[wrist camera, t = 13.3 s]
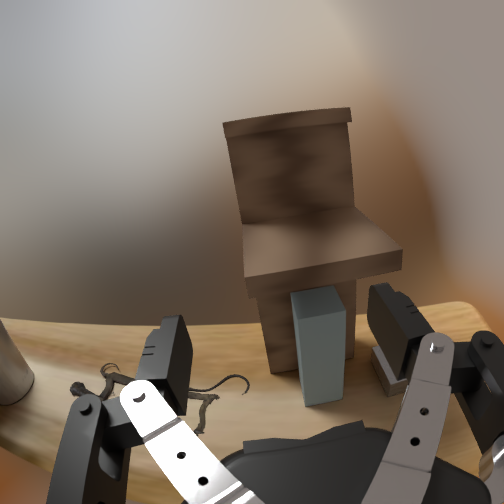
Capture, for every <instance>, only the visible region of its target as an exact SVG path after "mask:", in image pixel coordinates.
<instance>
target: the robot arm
mask: <svg viewBox="0 0 504 504" xmlns="http://www.w3.org/2000/svg"><path fill="white" fill-rule="evenodd" d="M367 320H368V324H369V327H370V329H371V331H372V333H373V335H374V337H375V339H376V340H377V342H378V344H379V346H380V348H381V350H382V352H383V354H384V356H385V358H386V360H387V362H388V364H389V366H390V368H391V370H392V372H393V374H394V376H395V378H396V380H397V381H399V380H402V379H407V381H408V385H407V388H406V391H405V394H404V397H403V400H402V403H401V406H400V409H399V412H398V415H397V417H396V420H395V423H394V425H393V428H392V430H391V432H390V431H387V430H383V429H378V428H365V427H364V424H363V421H362V420H361V421H357V422H353V423H349V424H345V425H341V426H336V427H333V428H331V429H329V430H326V431H324V432H322V433H320V434H317V435H315V436H313V437H310V438H308V439H304V440H300V439H281V438H268V439H260V440H251V441H243V449H242V450H239V451H236V452H234V453H232V454H230V455H228V456H227V457H225V458H224V459H222V460H221V461H220V462H219V461H218V460H217V459H216V457H215V456H214V455H213V454H212V453H211V452H210V451H209V450H208V449H207V448H206V447H205V446H204V444H203V443H202V442H201V441H200V440H199V439H198V438H197V437H196V435H195V434H194V433H193V432H192V431H191V430H190V429H189V427H188V426H187V425H186V424H185V423H184V421H183V420H182V419H181V418H178V417H177V416H186V410H187V401H188V391H189V382H190V374H191V365H192V357H193V348H192V343H191V339H190V337H189V334H188V331H187V328H186V325H185V322H184V320H183V317H182V315H174V316H165V317H163V320H162V323H161V327H160V329H154V330H153V331H152V332H151V333H150V335H149V336H148V337H147V339H146V343H145V346H144V349H143V353H142V356H141V359H140V363H139V366H138V370H137V373H136V377H135V381H134V382H132V383H130V384H129V385H127V386H126V387H125V388H124V389H123V391H122V392H121V395H120V396H119V397H116V398H113V399H109V400H105V401H101V400H100V399H99V398H98V397H97V396H96V395H93V394H86V395H82V396H80V397H79V398H77V399H76V400H75V401H74V402H73V404H72V406H71V409H70V412H69V415H68V418H67V421H66V425H65V428H64V432H63V435H62V439H61V442H60V446H59V450H58V453H57V457H56V461H55V465H54V469H53V474H52V478H51V482H50V487H49V492H48V497H47V502H46V504H125V502H126V491H127V480H128V471H129V462H130V454H131V447H134V446H138V445H142V444H145V445H146V447H147V448H148V450H149V451H150V453H151V454H152V456H153V457H154V459H155V460H156V461H157V463H158V464H159V466H160V467H161V468H162V470H163V471H164V473H165V474H166V475H167V477H168V478H169V479H170V481H171V482H172V483H173V485H174V486H175V487H176V488H177V490H178V491H179V492H180V494H181V495H182V496H183V497H184V499H185V500H184V501H183V502H182V503H181V504H502V503H503V502H504V345H503V343H502V342H501V341H500V339H499V338H498V337H497V336H496V335H495V334H494V333H492V332H489V331H478V332H476V333H475V334H474V335H473V336H472V339H471V341H470V342H453V341H452V339H451V338H450V337H448V336H447V335H445V334H442V333H435V331H434V330H433V329H432V327H431V326H430V325H429V323H428V322H427V321H426V319H425V318H424V317H423V315H422V314H421V313H420V312H419V310H418V309H417V307H416V306H414V303H413V302H412V301H411V300H410V298H409V297H408V296H406V295H404V294H403V293H401V292H394V290H393V289H392V287H391V286H390V285H389V284H388V283H387V282H386V283H381V284H376V285H371V286H370V289H369V298H368V309H367ZM33 379H34V375H33V372H32V370H31V369H30V367H29V366H28V364H27V363H26V361H25V360H24V358H23V357H22V355H21V353H20V352H19V350H18V349H17V347H16V345H15V344H14V342H13V341H12V339H11V337H10V336H9V334H8V332H7V330H6V329H5V327H4V325H3V323H2V322H1V320H0V404H2V405H9V404H12V403H14V402H16V401H18V400H19V399H21V398H22V397H23V396H24V395H25V394H26V393H27V392H28V390H29V389H30V387H31V385H32V383H33ZM484 381H485V382H486V383H485V382H484ZM486 384H487V385H488V387H489V389H490V390H489V389H488V387H487V385H486ZM490 391H491V392H490ZM450 393H454V394H455V396H456V398H457V400H458V402H459V404H460V406H461V408H462V411H463V413H464V415H465V417H466V419H467V421H468V423H469V425H470V428H471V430H472V432H473V434H474V437H475V439H476V441H477V443H478V446H479V448H480V450H481V453H482V457H481V459H480V462H479V477H480V479H479V478H478V477H476V476H474V475H472V474H470V473H468V472H466V471H464V470H462V469H460V468H458V467H456V466H454V465H452V464H450V463H448V462H446V461H444V460H442V459H440V458H438V457H436V456H435V455H436V452H437V449H438V445H439V441H440V438H441V434H442V430H443V426H444V422H445V418H446V413H447V408H448V404H449V399H450ZM491 393H492V394H491Z"/></svg>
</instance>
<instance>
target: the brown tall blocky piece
mask: <svg viewBox="0 0 504 504" xmlns="http://www.w3.org/2000/svg"><path fill="white" fill-rule="evenodd" d="M347 122H352V118H351V111H350V108H349V107H348V108H331V109H319V110H308V111H298V112H289V113H281V114H273V115H266V116H259V117H253V118H247V119H241V120H235V121H229V122H224V123H223V128H224V134H225V138H226V140H227V146H228V151H229V156H230V162H231V167H232V173H233V178H234V183H235V189H236V194H237V199H238V204H239V210H240V215H241V221H242V230H243V255H244V277H245V282H246V287H247V292H248V297H249V299H250V298H256V300H257V305H258V310H259V315H260V320H261V326H262V331H263V336H264V341H265V346H266V352H267V357H268V362H269V367H270V372H271V374H272V373H278V372H284V371H290V370H296V369H299V366H298V356H297V347H296V338H295V328H294V320H293V311H292V302H291V294H290V293H292V292H298V291H304V290H310V289H315V288H321V287H326V286H331V285H334V287H335V289H336V291H337V293H338V295H339V297H340V299H341V301H342V303H343V305H344V307H345V309H346V338H345V359H349V358H353V357H354V342H355V319H356V279H361V278H365V277H370V276H375V275H380V274H385V273H389V272H394V271H398V270H401V268H402V251H403V249H402V248H401V247H400V246H399V245H398V244H397V243H396V242H394V241H393V240H392V239H391V238H390V237H389V236H388V235H387V234H386V233H385V232H383V231H382V230H381V229H380V228H379V227H378V226H377V225H376V224H374V223H373V222H372V221H371V220H370V219H369V218H368V217H366V216H365V215H364V214H363V213H362V212H361V211H359V210H358V209H357V208H356V207H355V206H354V192H353V177H352V164H351V154H350V144H349V135H348V126H347Z"/></svg>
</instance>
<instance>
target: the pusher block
mask: <svg viewBox="0 0 504 504" xmlns="http://www.w3.org/2000/svg"><path fill="white" fill-rule="evenodd" d="M290 294H291V302H292V311H293V320H294V328H295V338H296V347H297V356H298V366H299V376H300V383H301V388H302V393H303V398H304V403H305V407H306V406H311V405H316V404H322V403H326V402H331V401H336V400H340V399H342V398H343V383H344V365H345V338H346V309H345V307H344V305H343V303H342V301H341V299H340V297H339V295H338V293H337V291H336V289H335V287H334V285H331V286H326V287H321V288H315V289H310V290H304V291H298V292H292V293H290Z"/></svg>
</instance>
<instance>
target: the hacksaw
mask: <svg viewBox="0 0 504 504" xmlns="http://www.w3.org/2000/svg"><path fill="white" fill-rule="evenodd" d="M108 364H113V363H108ZM108 364H105V365H104V366H103V367H102V368H101V371H100V372H101V374H102V375H103V376H105V378H107V379H106V380H105V381H106V387H105V389H104V391H103V392H102V393H101V394H100V396H98V395H96V396H97V397H98V398H99V399H100V400H101V401H105V400H106V398H107V397H108V395H109V393H110V392H111V390H112V387H113V381H115V382H119V383H122V384H126V385H129V384H130V383H132V382H134V381H135V379H134V378H130V377H127V376H124V375H121V374H118V373H115V372H113V373H110V374H108V373H106V374H105V373H104V372H103V369H104V367H105V366H106V365H108ZM113 365H116V364H113ZM116 367H117V365H116ZM117 368H118V367H117ZM118 370H119V369H118ZM232 377H240V378H242V379H244V380H245V381H246V382H247V385H248V386H247V390H246V391H245V393H247V391H248V390H249V386H250V384H249V382H248V380H247V379H246V378H245V377H243V376H241V375H236V374H234V375H230V376H227V377H226V378H224V379H223V380H222V381H220V382H219V383H218V384H217V385H215V386H214V387H212V388H210V389H206V390H198V389H193V388H189V391H196V392H206V391H210V390H213V389H214V388H216V387H218V386H219V385H221V384H222V383H223V382H224V381H226V380H227V379H229V378H232ZM70 391H71V393H72V394H73V395H78V396H82V395H86V394H93V395H95V394H94V393H92V392H90V391H89V390H87V389H85V387H84V384H83V383H80V382H75V383H73V385H72V387H70ZM113 393H114V392H113ZM110 394H111V393H110ZM243 394H244V393H243ZM243 394H242V395H243ZM188 398H189V399H199V400H204V401H203V404H202V405H201V407H200V410H199V416H200V423H199V424H198V427H197V428H196V429H195V430H194V432H193V433H194V434H196V436H198V434H203V433H204V432H203V429H204V428H205V411H206V408H207V406H208V405H209V404H211V402H212V401H213V400H214V399H216V400H217V398H218V399H219V398H220V397H218V395H215V394H214V395H213V394H212V395H211V394H210V395H209V394H200V393H194V392H188Z"/></svg>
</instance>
